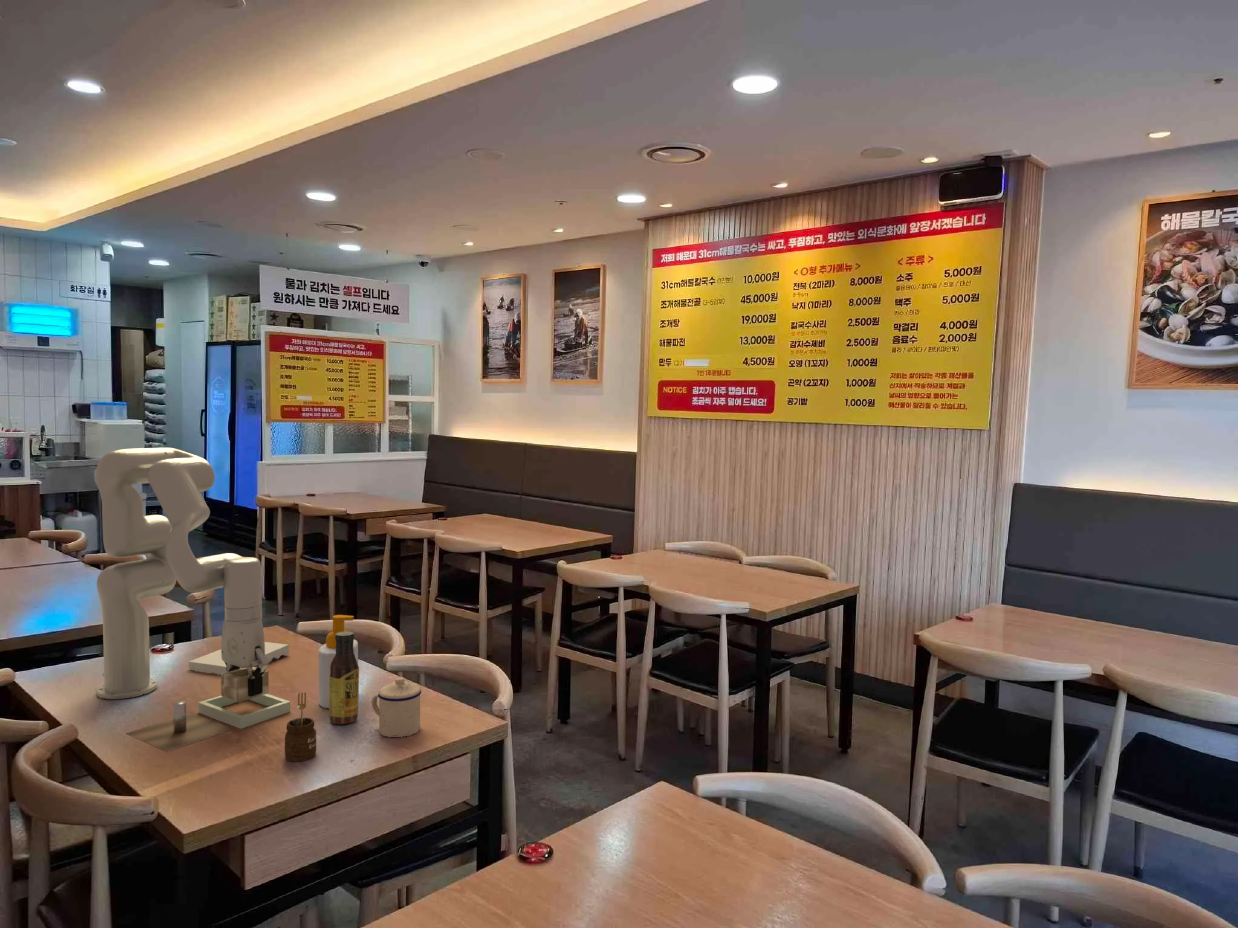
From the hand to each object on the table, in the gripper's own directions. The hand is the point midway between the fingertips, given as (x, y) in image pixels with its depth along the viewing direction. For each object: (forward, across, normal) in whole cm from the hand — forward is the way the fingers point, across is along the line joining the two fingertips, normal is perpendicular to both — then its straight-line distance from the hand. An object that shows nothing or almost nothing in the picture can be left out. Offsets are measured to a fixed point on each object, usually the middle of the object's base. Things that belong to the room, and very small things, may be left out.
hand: (245, 690), depth 180 cm
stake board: (+6, -1, -14) cm, 15 cm away
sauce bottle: (+7, +19, +12) cm, 23 cm away
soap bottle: (+7, +7, +20) cm, 22 cm away
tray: (+6, 0, 0) cm, 6 cm away
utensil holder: (+7, +27, -5) cm, 28 cm away
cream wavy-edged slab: (+7, -38, +22) cm, 44 cm away
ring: (+1, 0, 0) cm, 1 cm away
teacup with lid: (+7, +32, +15) cm, 36 cm away
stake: (+5, -1, -14) cm, 15 cm away
